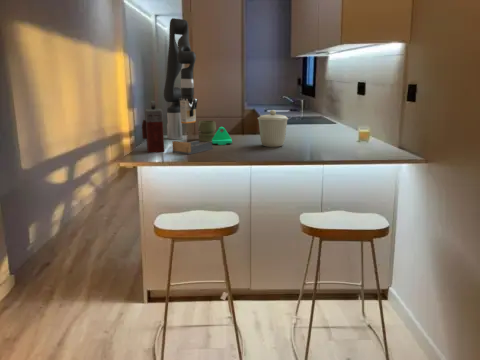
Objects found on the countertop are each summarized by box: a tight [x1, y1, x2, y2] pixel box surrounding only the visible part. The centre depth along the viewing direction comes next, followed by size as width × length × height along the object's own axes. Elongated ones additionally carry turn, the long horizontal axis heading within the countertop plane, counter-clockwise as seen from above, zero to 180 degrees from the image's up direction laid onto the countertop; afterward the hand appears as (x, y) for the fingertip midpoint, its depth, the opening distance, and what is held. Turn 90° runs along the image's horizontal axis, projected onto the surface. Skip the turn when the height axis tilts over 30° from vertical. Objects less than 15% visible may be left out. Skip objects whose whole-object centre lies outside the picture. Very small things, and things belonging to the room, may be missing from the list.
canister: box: [257, 109, 289, 148], centre depth 269 cm, size 18×18×21 cm
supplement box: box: [180, 101, 197, 125], centre depth 269 cm, size 8×5×13 cm, turn 140°
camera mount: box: [211, 126, 233, 146], centre depth 279 cm, size 12×8×10 cm, turn 94°
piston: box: [197, 120, 217, 143], centre depth 294 cm, size 11×12×11 cm
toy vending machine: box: [141, 100, 165, 154], centre depth 254 cm, size 9×11×28 cm
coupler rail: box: [172, 140, 214, 155], centre depth 257 cm, size 12×20×6 cm, turn 143°
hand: (188, 116), depth 270 cm, fingers closed on supplement box, 5 cm apart
